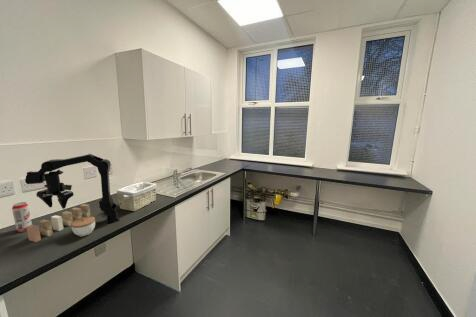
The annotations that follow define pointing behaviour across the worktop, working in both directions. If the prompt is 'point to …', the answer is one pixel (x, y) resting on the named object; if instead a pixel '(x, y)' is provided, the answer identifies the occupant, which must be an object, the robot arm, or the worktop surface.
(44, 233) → the domino
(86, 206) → the domino
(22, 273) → the worktop surface
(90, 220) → the lidded jar
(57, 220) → the domino
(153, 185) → the storage basket
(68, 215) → the domino
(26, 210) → the beer can
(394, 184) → the worktop surface
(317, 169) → the worktop surface
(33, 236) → the domino end
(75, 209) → the domino
